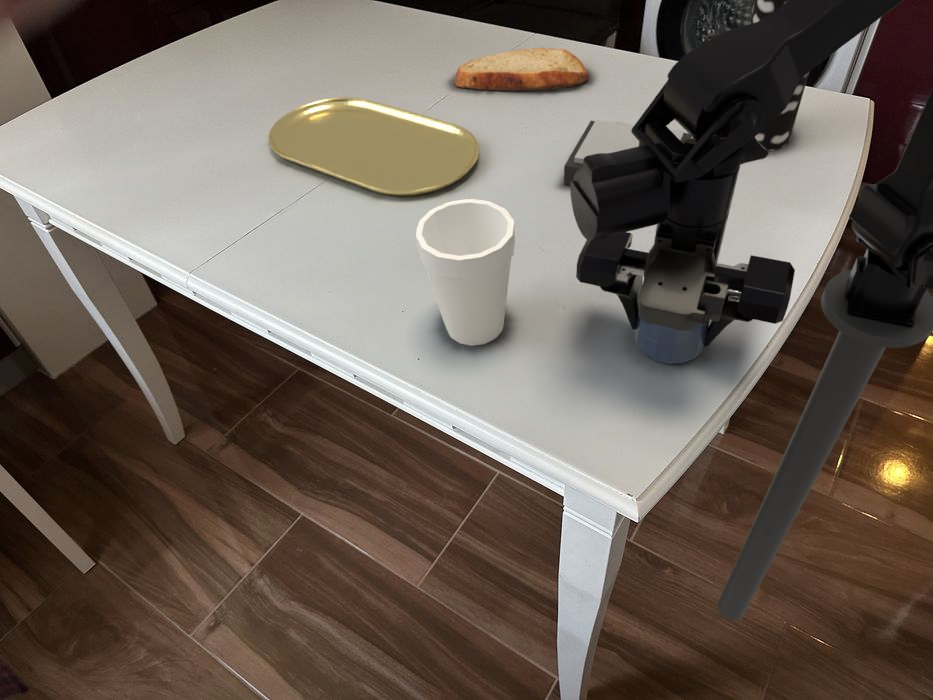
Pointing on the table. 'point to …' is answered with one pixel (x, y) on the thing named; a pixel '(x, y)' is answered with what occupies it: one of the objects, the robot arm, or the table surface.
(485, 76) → the bread slice
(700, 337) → the small blue cup
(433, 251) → the foam cup
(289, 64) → the table surface
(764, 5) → the white-spotted black cylinder
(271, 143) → the serving platter
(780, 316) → the robot arm
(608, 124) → the scale
